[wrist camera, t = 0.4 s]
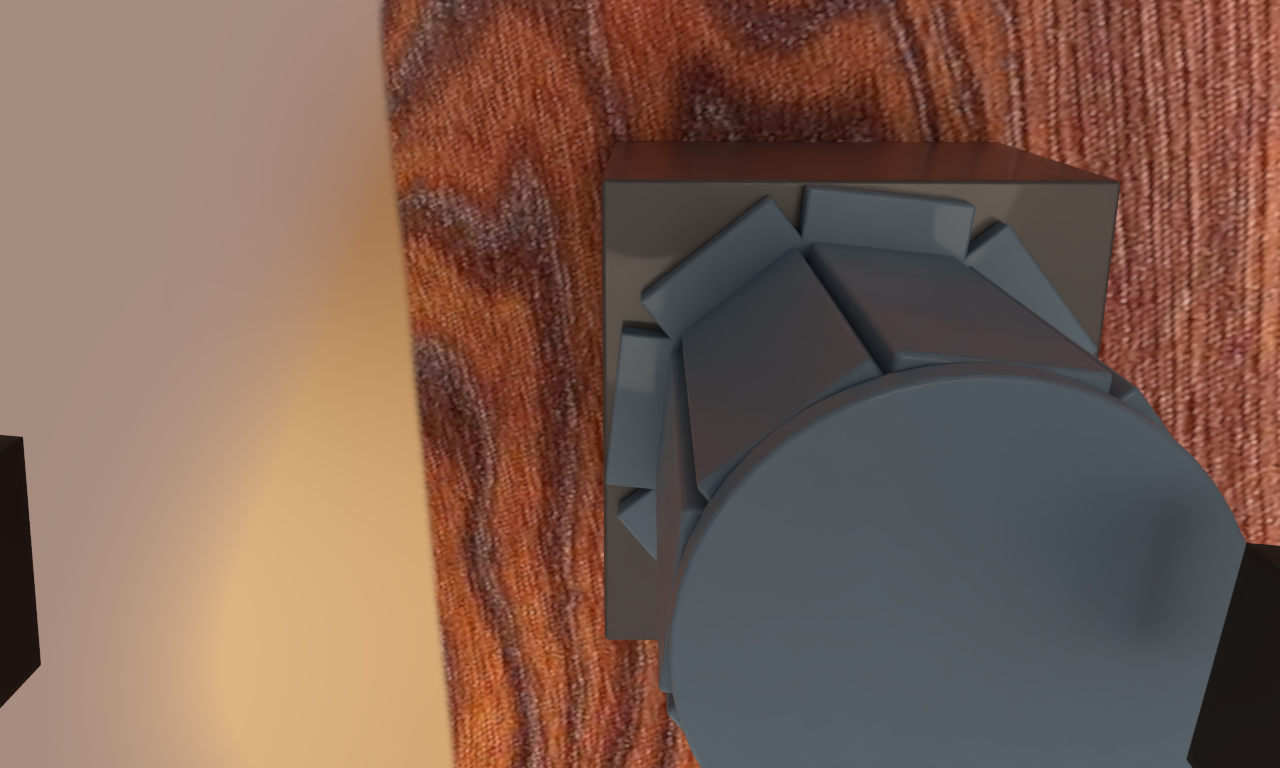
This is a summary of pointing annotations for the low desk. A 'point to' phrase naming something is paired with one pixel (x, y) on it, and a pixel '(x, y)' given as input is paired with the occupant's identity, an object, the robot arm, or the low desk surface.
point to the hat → (909, 505)
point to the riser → (749, 171)
